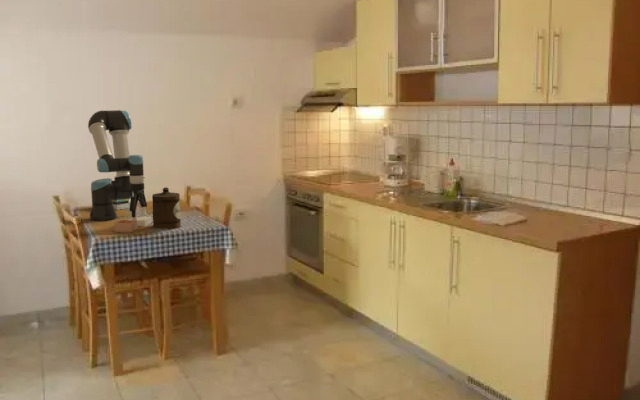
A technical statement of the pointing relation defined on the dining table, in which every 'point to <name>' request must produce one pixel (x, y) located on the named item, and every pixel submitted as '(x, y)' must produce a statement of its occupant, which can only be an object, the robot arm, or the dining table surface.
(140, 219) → the lid
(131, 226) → the dish
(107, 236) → the dining table surface
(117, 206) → the tea box
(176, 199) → the wooden container
